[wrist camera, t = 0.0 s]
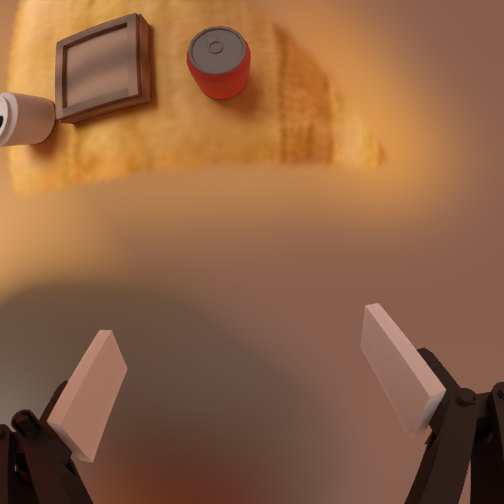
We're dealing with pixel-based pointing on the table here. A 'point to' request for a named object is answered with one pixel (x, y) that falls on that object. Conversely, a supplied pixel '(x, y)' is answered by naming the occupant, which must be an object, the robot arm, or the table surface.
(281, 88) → the table surface
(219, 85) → the beer can
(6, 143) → the can
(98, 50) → the walnut tray
